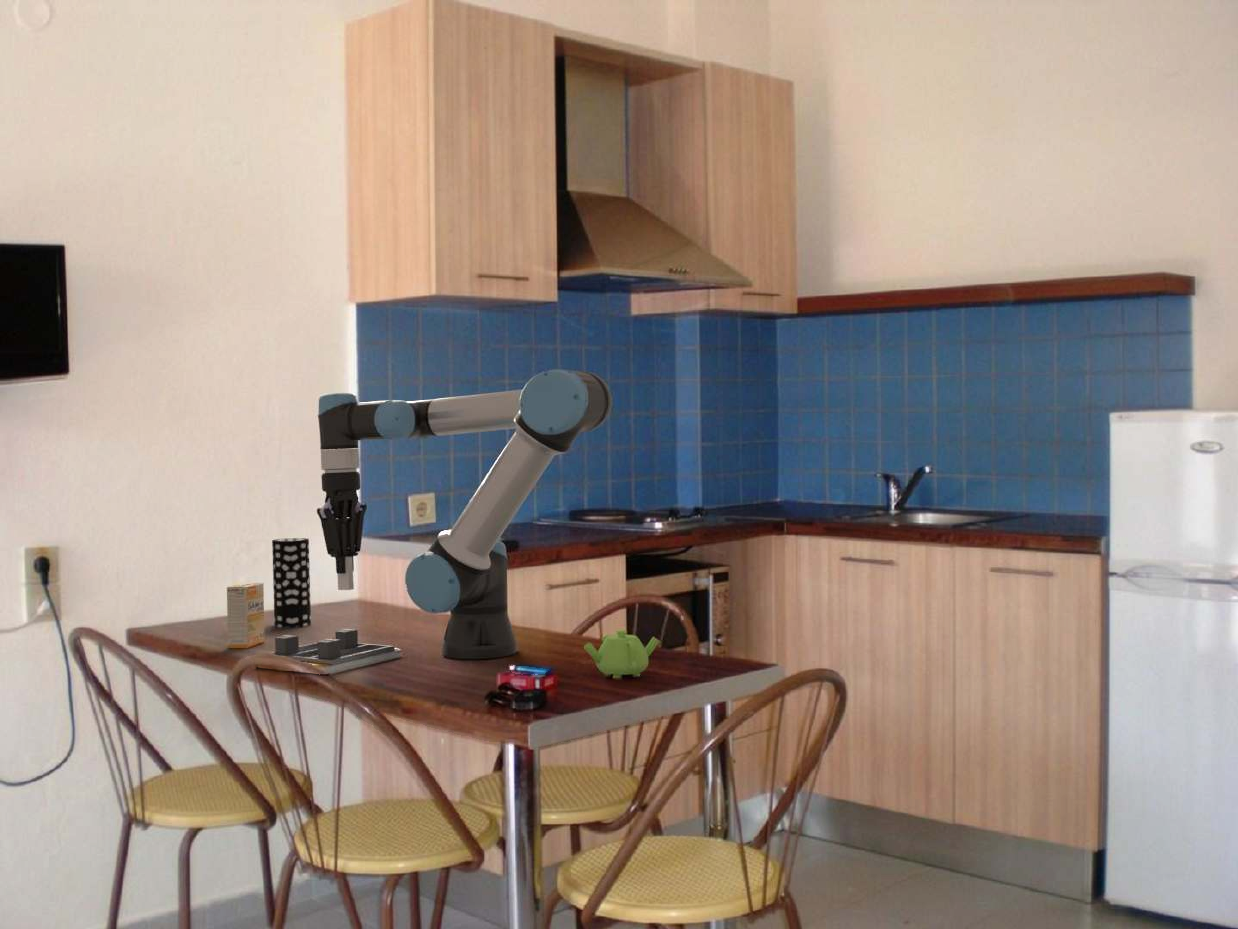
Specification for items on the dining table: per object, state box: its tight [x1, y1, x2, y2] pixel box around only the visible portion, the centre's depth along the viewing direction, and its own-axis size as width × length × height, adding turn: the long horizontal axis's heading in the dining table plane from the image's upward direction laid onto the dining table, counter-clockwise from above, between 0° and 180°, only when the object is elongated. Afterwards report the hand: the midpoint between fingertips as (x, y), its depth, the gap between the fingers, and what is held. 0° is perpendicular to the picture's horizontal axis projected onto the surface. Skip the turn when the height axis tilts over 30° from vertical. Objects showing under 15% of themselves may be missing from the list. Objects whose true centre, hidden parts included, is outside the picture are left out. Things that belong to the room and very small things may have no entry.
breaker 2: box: [316, 638, 341, 660], centre depth 264 cm, size 3×4×4 cm
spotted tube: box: [271, 537, 312, 629], centre depth 323 cm, size 8×8×20 cm
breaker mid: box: [335, 628, 359, 650], centre depth 276 cm, size 3×4×4 cm
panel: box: [270, 642, 403, 675], centre depth 272 cm, size 18×22×2 cm
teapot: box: [583, 629, 661, 678], centre depth 252 cm, size 11×12×8 cm
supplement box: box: [226, 582, 265, 649], centre depth 294 cm, size 8×5×13 cm, turn 168°
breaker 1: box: [274, 634, 300, 655], centre depth 269 cm, size 3×4×4 cm
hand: (345, 589), depth 275 cm, fingers closed
